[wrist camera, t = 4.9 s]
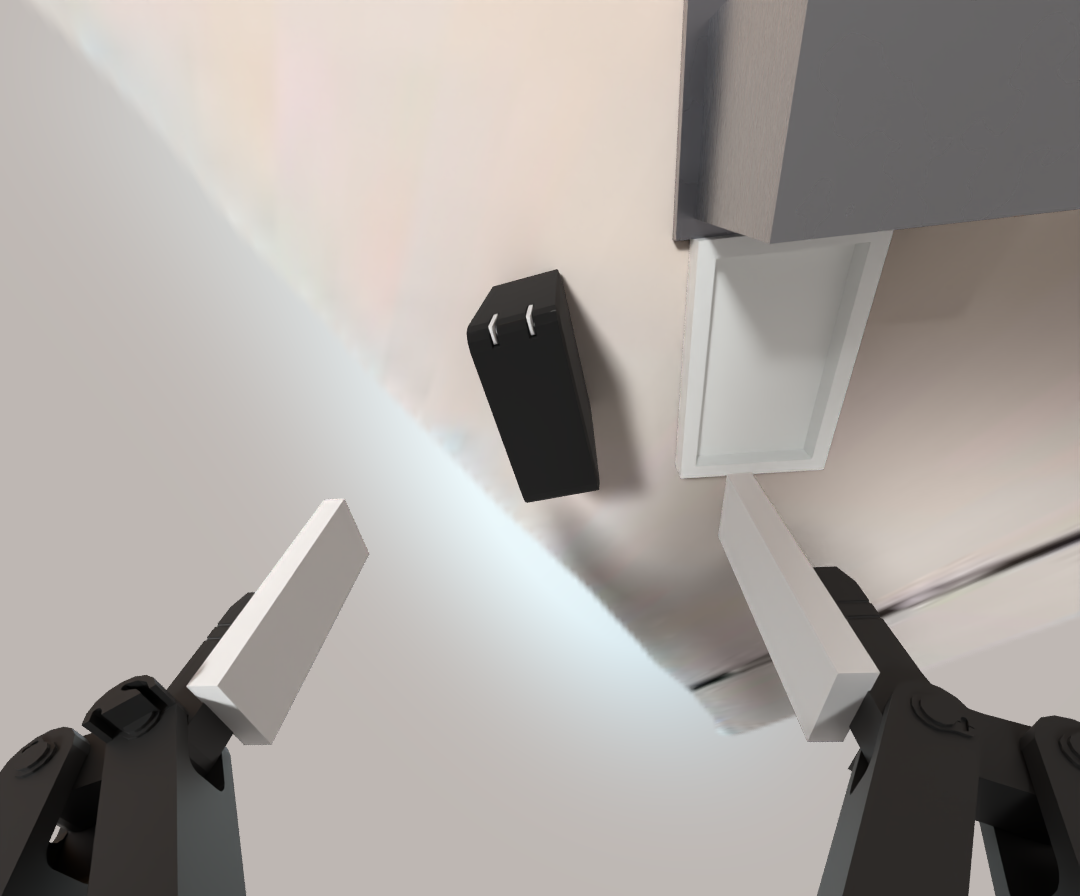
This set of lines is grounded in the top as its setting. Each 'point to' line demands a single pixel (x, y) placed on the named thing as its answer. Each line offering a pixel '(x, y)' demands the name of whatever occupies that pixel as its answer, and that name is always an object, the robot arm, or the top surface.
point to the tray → (770, 349)
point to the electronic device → (536, 386)
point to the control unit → (874, 115)
